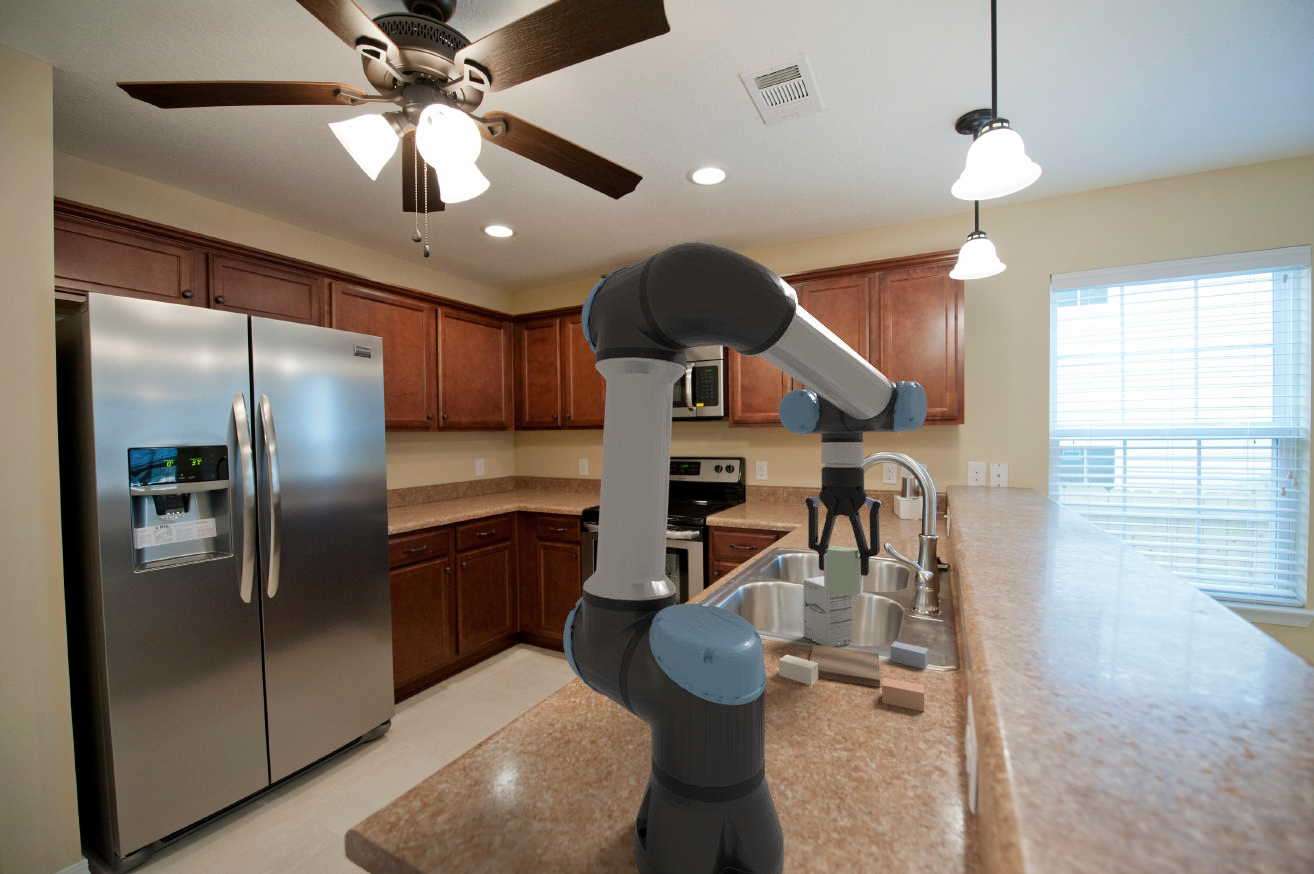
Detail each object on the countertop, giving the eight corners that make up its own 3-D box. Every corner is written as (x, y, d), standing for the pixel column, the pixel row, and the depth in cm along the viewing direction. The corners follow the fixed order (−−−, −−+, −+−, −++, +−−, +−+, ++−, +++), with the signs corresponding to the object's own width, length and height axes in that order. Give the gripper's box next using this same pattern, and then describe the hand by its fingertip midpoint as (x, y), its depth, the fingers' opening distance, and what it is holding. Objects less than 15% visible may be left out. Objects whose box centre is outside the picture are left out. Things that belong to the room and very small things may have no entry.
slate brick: (928, 664, 97) (928, 648, 97) (925, 670, 94) (924, 653, 94) (895, 656, 100) (895, 641, 101) (890, 661, 98) (890, 645, 98)
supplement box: (802, 637, 110) (801, 578, 111) (828, 631, 113) (828, 574, 114) (827, 649, 104) (826, 586, 104) (854, 643, 107) (853, 582, 107)
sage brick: (855, 596, 92) (855, 552, 93) (827, 592, 95) (826, 549, 95) (860, 591, 96) (859, 548, 96) (832, 587, 99) (832, 545, 99)
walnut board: (880, 686, 87) (880, 679, 87) (807, 675, 92) (807, 668, 92) (878, 659, 98) (878, 653, 98) (814, 650, 103) (814, 644, 103)
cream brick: (818, 680, 91) (818, 663, 91) (811, 686, 88) (811, 668, 88) (786, 670, 94) (786, 654, 94) (779, 676, 92) (779, 659, 92)
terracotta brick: (924, 703, 82) (924, 685, 82) (924, 712, 79) (924, 693, 79) (883, 695, 85) (883, 677, 85) (882, 703, 82) (882, 684, 82)
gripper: (897, 465, 94) (899, 592, 94) (800, 464, 104) (801, 579, 104) (891, 467, 88) (893, 603, 87) (788, 465, 98) (790, 587, 97)
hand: (843, 589), depth 95 cm, fingers closed on sage brick, 5 cm apart
